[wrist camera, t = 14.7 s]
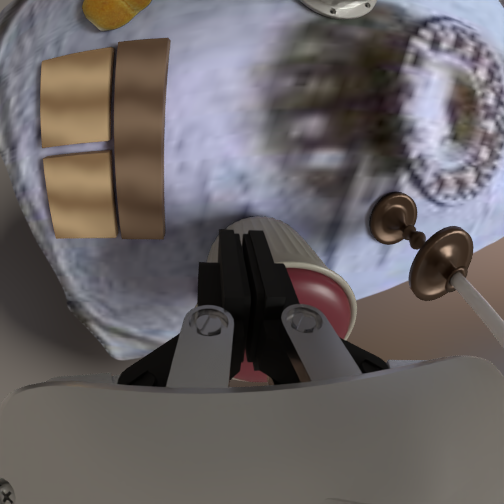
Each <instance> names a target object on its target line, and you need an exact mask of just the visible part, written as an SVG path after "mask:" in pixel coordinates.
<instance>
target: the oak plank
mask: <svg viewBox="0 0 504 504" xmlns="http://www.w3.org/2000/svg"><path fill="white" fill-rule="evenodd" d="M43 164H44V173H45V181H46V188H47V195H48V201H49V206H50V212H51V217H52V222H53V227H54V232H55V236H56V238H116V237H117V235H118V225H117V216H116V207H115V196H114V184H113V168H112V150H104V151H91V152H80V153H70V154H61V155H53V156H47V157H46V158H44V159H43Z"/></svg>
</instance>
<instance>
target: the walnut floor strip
mask: <svg viewBox="0 0 504 504" xmlns="http://www.w3.org/2000/svg"><path fill="white" fill-rule="evenodd" d="M169 50H170V40H169V38H158V39H143V40H132V41H123V42H118V48H117V60H116V74H115V94H114V152H115V173H116V188H117V200H118V211H119V220H120V229H121V237H122V239H164V236H165V209H164V127H165V103H166V86H167V72H168V60H169Z"/></svg>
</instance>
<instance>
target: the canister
mask: <svg viewBox="0 0 504 504" xmlns="http://www.w3.org/2000/svg"><path fill="white" fill-rule="evenodd" d="M226 229H227V230H234V233H239V235H240V240H241V245H242V238H243V234H248V231H249V230H263V231H264V234H265V237H266V240H267V242H268V245H269V248H270V251H271V254H272V257H273V260H274V263H283V264H284V265H285V266H286V269H287V272H288V274H289V277H290V279H291V282H292V285H293V287H294V290H295V292H296V295H297V298H298V300H299V303H300V304H306V305H310V306H313V307H315V308H317V309H318V310H320V311H321V312H322V313H323V314H324V315H325V316H326V318H327V319H328V321H329V322H330V324H331V325H332V327H333V328H334V330H335V332H336V333H337V335H338V336H339V337H340V338H342V339H344V340H347V338H348V336H349V335H350V333H351V331H352V329H353V326H354V323H355V320H356V313H357V305H356V299H355V296H354V293H353V291H352V289H351V288H350V286H349V285H348V283H347V282H346V281H345V280H344V279H343V278H342V277H341V276H340V275H338V274H337V273H335V272H334V271H332V270H330V269H328V268H327V266H326V265H325V264H324V263H323V262H322V260H321V259H320V258H319V257H318V256H317V254H316V253H315V252H314V251H313V250H312V248H311V247H310V246H309V245H308V244H307V243H306V241H305V240H304V239H303V238H302V237H301V236H300V235H299V234H298V233H297V232H296V231H295V230H294V229H292V228H291V227H290V226H289V225H288V224H286V223H283V222H282V221H280V220H276V219H274V218H268V217H266V216H264V217H259V216H256V217H249V218H246V219H241V220H240V221H237V222H234V223H233V224H232V225H229V226H228V227H227V228H226ZM218 245H219V236H217V238H216V240H215V242H214V243H213V244H212V247H211V250H210V252H209V254H208V258H207V262H216V263H218ZM197 305H198V303H197ZM197 305H196V306H195V308H196V307H197ZM232 379H235V380H240V381H249V382H267V375H266V374H264V373H263V372H261V371H254V368H253V362H247V357H246V350H245V354H244V361H243V363H241V369H240V372H239V373H238V374H236V375H235V376H234V377H233V378H232Z"/></svg>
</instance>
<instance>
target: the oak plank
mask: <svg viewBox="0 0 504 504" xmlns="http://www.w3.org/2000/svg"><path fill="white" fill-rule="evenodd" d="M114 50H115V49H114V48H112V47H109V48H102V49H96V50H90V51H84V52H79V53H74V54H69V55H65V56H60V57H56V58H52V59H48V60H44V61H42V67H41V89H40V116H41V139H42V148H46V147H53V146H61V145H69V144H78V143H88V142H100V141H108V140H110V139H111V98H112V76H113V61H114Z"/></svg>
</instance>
